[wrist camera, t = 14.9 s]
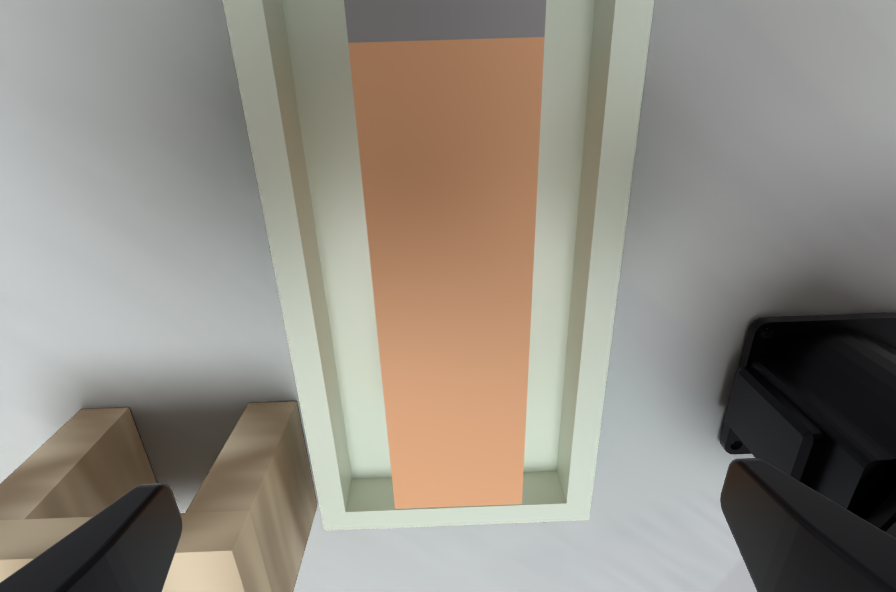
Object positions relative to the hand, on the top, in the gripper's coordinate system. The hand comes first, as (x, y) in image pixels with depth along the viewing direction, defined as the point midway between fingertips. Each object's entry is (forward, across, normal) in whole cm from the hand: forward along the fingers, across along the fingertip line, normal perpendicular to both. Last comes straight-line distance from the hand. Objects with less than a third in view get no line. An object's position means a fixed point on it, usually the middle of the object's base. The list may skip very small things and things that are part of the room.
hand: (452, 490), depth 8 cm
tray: (+11, 0, 0) cm, 11 cm away
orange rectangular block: (+10, 0, -1) cm, 10 cm away
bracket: (+11, +11, +9) cm, 18 cm away
